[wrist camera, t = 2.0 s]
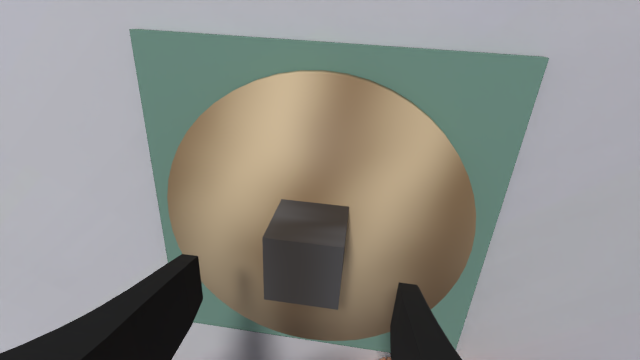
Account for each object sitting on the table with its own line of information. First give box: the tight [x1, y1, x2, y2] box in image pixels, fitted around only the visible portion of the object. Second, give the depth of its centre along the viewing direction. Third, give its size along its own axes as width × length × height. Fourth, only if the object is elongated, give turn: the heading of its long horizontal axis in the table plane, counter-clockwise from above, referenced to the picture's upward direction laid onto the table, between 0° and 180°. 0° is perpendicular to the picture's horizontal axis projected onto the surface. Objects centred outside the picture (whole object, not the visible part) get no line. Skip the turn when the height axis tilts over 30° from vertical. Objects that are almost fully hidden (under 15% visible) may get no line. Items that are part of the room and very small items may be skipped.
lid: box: [167, 70, 476, 341], centre depth 15 cm, size 14×14×4 cm
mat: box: [129, 29, 549, 353], centre depth 17 cm, size 16×16×1 cm
